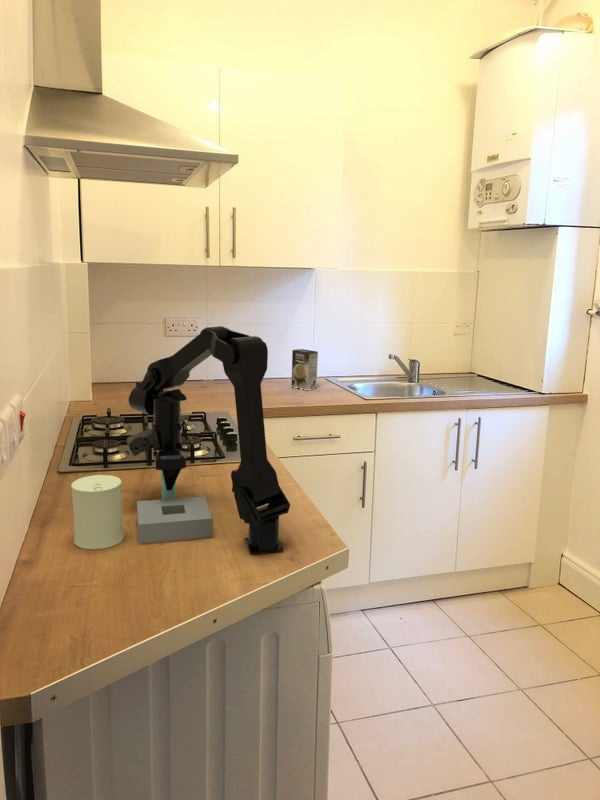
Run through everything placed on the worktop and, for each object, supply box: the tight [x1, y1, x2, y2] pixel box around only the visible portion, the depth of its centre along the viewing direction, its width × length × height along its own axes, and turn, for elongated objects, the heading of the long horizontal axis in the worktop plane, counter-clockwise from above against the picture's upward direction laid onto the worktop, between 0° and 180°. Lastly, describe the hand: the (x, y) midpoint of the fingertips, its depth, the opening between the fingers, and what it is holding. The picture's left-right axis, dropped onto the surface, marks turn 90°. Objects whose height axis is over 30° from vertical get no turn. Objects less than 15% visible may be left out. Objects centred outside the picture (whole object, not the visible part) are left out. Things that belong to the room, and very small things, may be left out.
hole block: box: [136, 495, 213, 545], centre depth 130 cm, size 12×14×4 cm
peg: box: [160, 470, 177, 500], centre depth 141 cm, size 3×3×10 cm
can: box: [70, 474, 125, 550], centre depth 123 cm, size 9×9×12 cm
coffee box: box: [291, 348, 319, 390], centre depth 268 cm, size 9×6×16 cm
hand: (168, 487), depth 142 cm, fingers closed on peg, 3 cm apart
